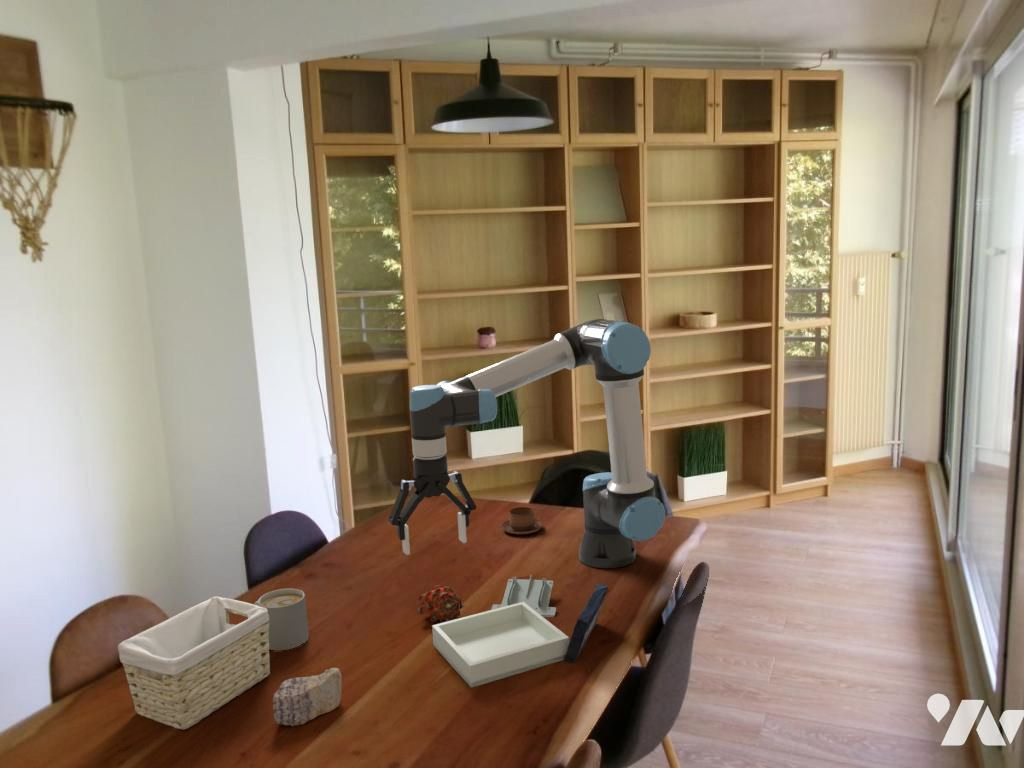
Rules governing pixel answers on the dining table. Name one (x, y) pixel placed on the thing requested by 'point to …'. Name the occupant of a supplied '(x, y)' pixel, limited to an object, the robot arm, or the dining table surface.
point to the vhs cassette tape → (586, 623)
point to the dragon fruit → (440, 604)
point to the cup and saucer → (521, 521)
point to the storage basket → (196, 661)
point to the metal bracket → (529, 595)
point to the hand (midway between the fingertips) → (435, 547)
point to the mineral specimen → (307, 697)
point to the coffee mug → (285, 618)
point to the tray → (499, 643)
